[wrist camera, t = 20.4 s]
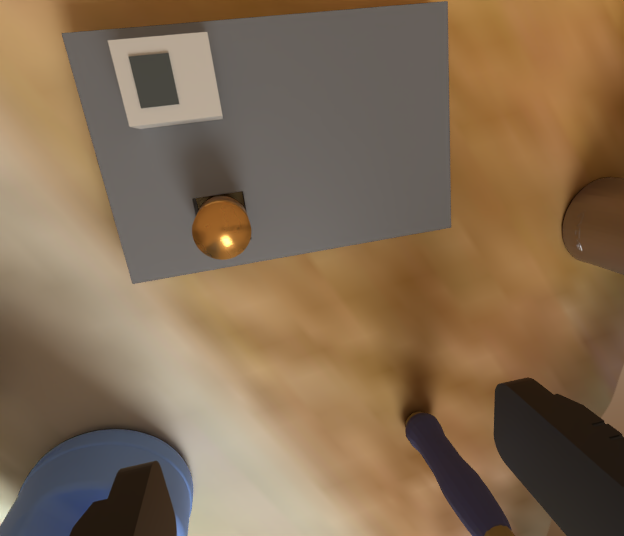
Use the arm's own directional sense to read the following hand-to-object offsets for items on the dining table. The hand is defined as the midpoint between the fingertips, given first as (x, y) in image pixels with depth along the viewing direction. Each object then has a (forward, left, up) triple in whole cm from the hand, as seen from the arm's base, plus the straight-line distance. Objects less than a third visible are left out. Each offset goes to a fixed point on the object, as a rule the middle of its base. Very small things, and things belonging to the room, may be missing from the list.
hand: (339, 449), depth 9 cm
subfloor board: (-3, -7, -28) cm, 29 cm away
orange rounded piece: (+3, -2, -28) cm, 29 cm away
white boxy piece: (+4, -12, -25) cm, 28 cm away
